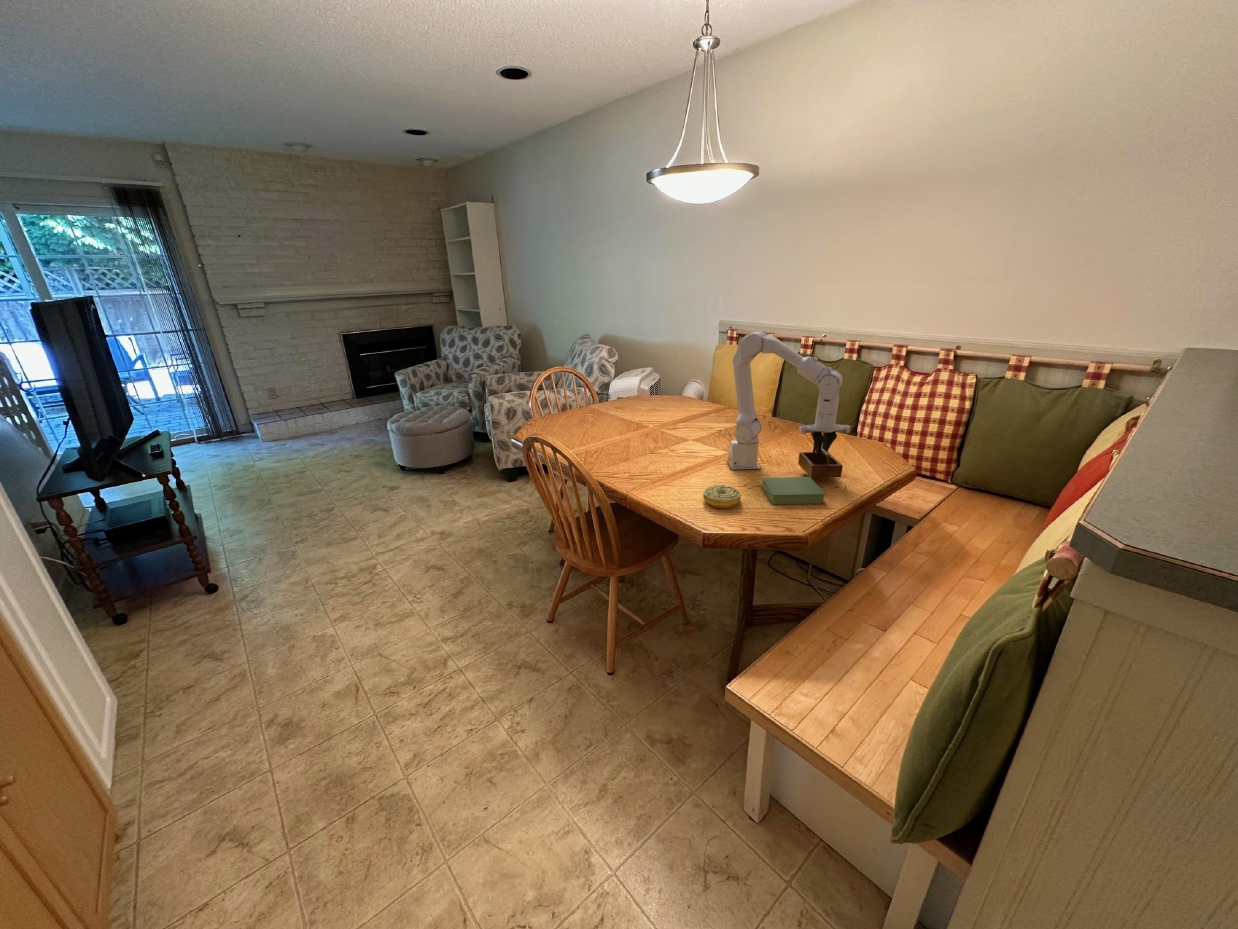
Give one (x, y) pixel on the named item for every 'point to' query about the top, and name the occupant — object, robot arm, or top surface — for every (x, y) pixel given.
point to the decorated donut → (721, 496)
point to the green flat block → (792, 490)
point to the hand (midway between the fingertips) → (820, 454)
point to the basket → (820, 464)
